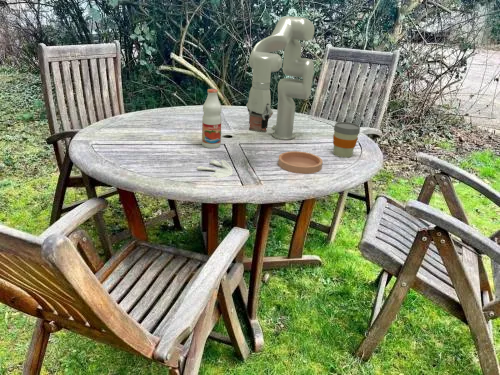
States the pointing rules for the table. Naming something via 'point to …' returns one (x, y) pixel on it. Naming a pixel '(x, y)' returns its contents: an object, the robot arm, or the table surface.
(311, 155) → the round bowl
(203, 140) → the fruit juice
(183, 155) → the table surface
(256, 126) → the lighter
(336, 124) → the reusable coffee cup
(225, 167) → the cream glove
